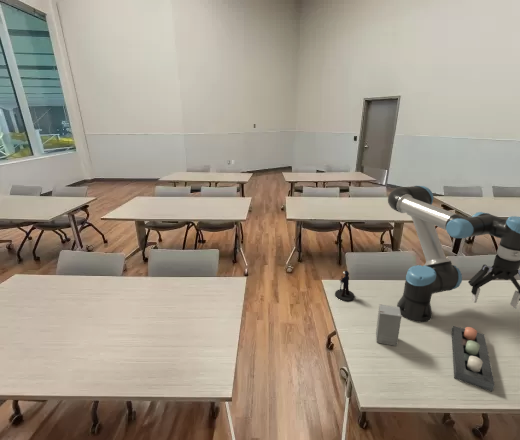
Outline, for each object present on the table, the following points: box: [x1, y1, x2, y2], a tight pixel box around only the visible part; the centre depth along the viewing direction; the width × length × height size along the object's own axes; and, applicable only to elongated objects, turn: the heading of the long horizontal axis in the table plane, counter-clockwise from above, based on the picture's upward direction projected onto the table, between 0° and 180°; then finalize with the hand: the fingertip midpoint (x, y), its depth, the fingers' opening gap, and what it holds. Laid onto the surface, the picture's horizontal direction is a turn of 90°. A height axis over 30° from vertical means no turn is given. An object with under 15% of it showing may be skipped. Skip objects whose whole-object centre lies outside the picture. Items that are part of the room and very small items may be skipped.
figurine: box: [334, 270, 355, 302], centre depth 150 cm, size 10×10×15 cm
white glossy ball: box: [467, 356, 483, 372], centre depth 103 cm, size 4×4×4 cm
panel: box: [451, 325, 495, 393], centre depth 111 cm, size 11×28×4 cm, turn 149°
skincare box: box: [375, 303, 403, 347], centre depth 119 cm, size 8×7×16 cm
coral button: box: [463, 326, 478, 341], centre depth 118 cm, size 4×4×4 cm
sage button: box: [465, 340, 480, 355], centre depth 110 cm, size 4×4×4 cm
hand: (493, 303), depth 115 cm, fingers open, 13 cm apart
